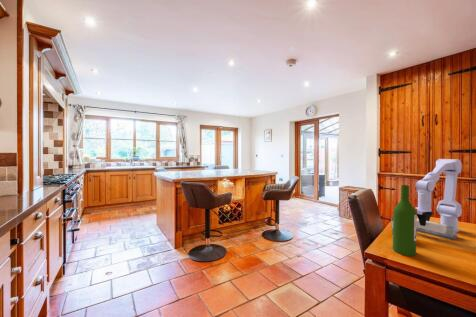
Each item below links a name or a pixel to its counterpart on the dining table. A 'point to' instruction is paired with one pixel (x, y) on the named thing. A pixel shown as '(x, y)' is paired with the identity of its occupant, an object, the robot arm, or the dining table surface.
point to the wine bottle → (404, 225)
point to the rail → (433, 226)
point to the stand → (448, 235)
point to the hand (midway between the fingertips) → (424, 224)
